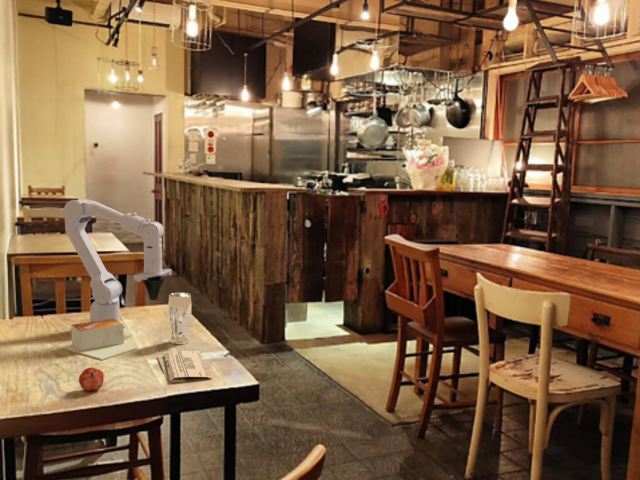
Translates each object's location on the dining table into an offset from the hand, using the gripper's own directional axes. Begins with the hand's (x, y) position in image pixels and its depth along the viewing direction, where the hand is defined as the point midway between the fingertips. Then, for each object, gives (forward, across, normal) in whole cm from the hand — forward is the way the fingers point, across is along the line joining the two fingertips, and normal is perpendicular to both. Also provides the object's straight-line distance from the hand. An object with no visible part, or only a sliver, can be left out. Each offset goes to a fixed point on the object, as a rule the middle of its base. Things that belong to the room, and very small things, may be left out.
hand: (153, 299), depth 191 cm
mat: (+10, -23, -2) cm, 25 cm away
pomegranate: (+11, -44, -26) cm, 52 cm away
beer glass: (+11, -4, -16) cm, 20 cm away
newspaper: (+11, -20, -33) cm, 41 cm away
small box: (+7, -15, -1) cm, 16 cm away
